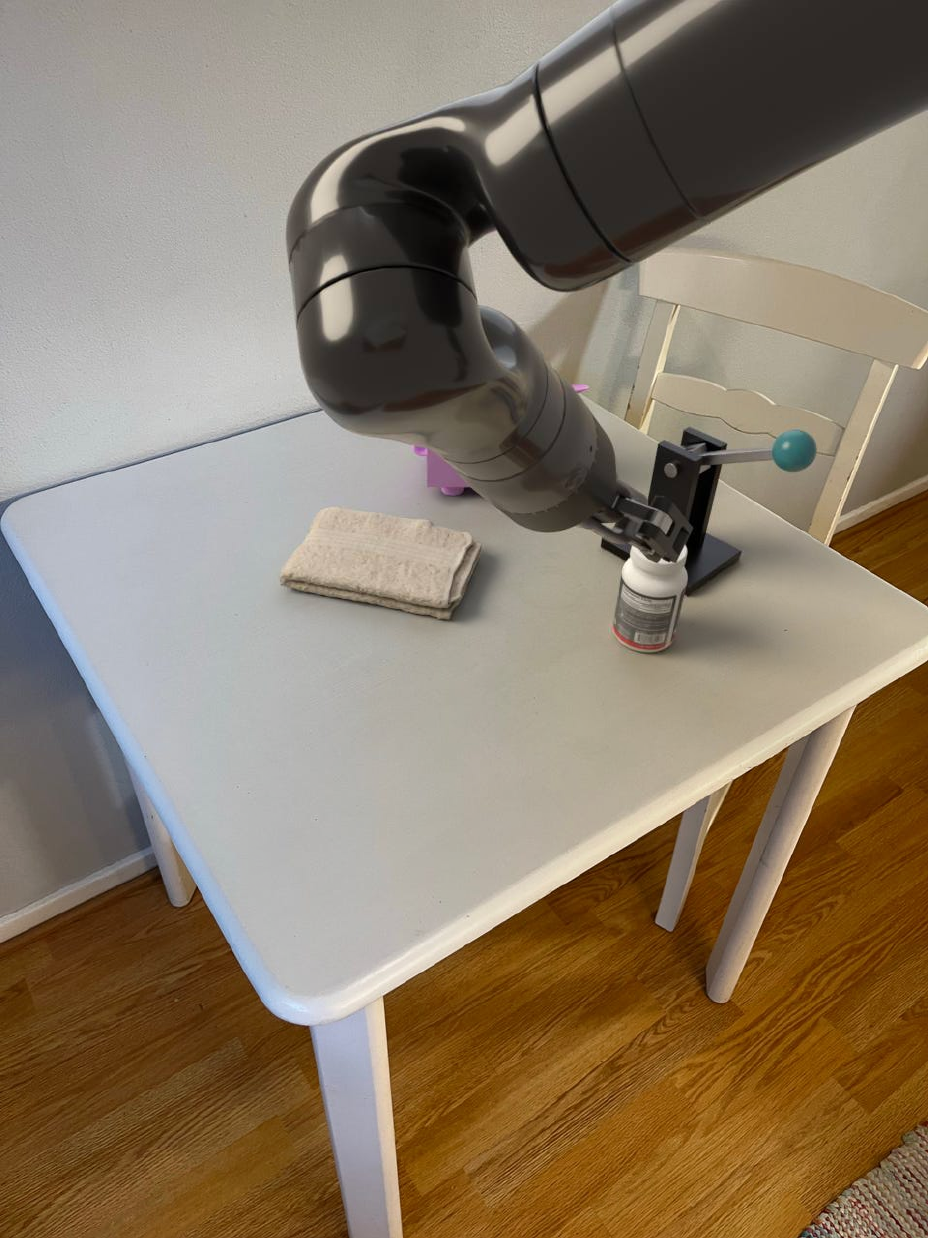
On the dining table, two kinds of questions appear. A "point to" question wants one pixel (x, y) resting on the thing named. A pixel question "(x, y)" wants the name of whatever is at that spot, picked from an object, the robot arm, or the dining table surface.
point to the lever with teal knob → (764, 452)
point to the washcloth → (383, 561)
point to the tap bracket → (689, 506)
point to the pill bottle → (649, 601)
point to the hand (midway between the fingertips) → (606, 526)
